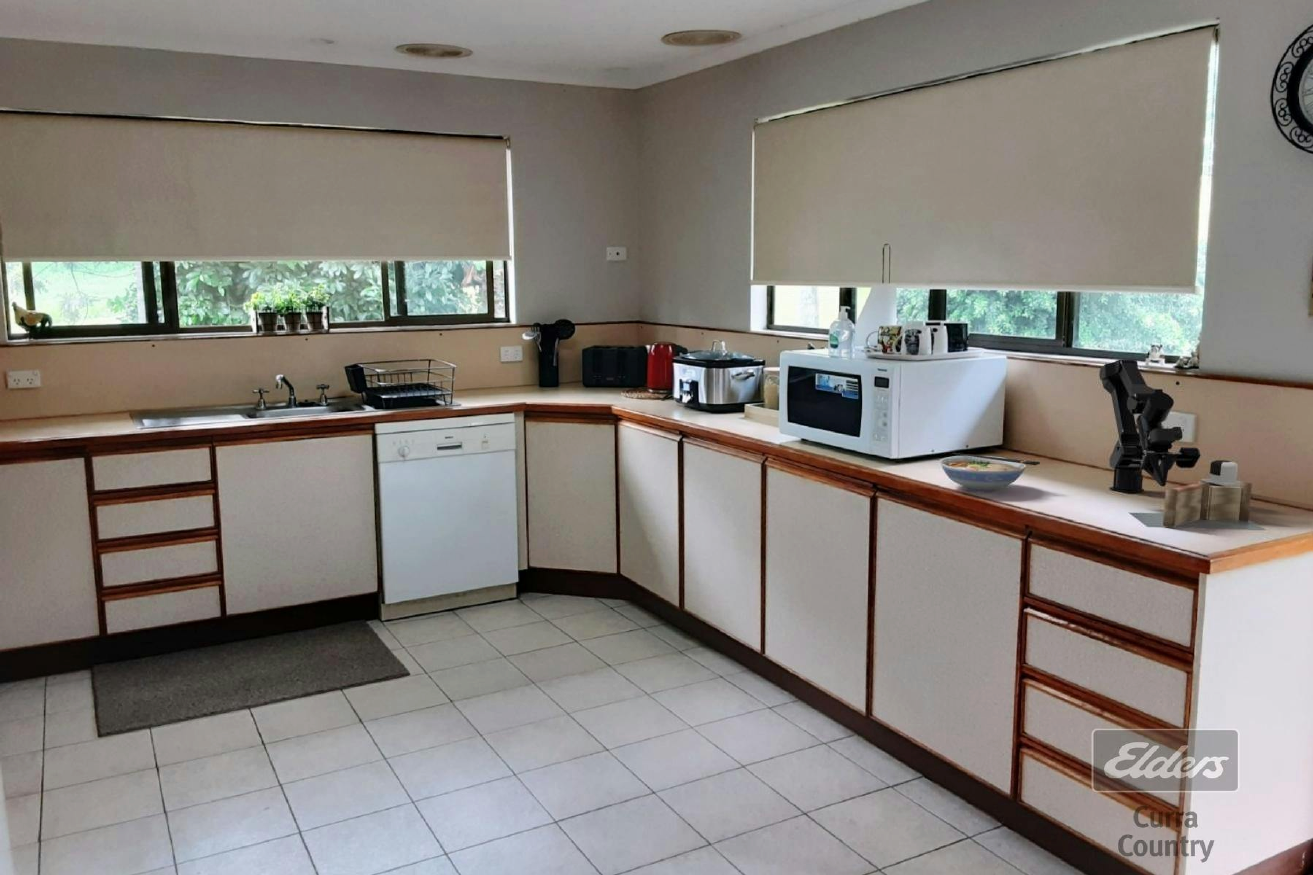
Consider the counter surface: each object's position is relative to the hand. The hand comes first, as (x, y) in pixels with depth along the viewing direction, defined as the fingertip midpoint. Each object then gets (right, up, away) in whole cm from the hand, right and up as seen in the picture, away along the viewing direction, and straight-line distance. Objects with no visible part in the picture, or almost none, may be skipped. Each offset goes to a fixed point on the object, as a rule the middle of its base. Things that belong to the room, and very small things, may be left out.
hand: (1163, 485), depth 252 cm
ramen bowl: (-35, -3, +30) cm, 46 cm away
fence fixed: (+11, -8, -6) cm, 15 cm away
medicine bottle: (+18, -6, +7) cm, 20 cm away
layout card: (+4, -8, -7) cm, 12 cm away
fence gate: (-1, -8, -10) cm, 13 cm away
